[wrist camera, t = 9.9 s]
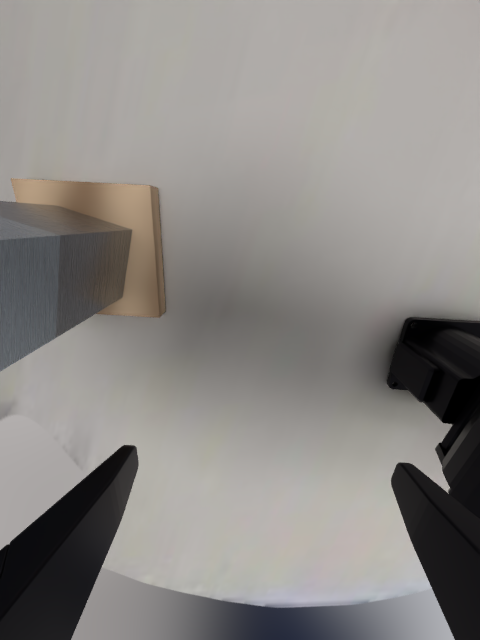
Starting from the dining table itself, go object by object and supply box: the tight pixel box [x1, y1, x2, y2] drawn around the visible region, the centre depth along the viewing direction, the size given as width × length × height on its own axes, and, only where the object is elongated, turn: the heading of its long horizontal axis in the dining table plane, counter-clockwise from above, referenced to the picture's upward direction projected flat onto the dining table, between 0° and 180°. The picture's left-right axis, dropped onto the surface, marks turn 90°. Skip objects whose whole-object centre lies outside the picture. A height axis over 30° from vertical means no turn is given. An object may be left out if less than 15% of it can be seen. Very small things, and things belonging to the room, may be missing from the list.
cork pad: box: [11, 178, 166, 318], centre depth 19 cm, size 9×9×2 cm
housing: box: [0, 201, 132, 371], centre depth 12 cm, size 5×5×13 cm
